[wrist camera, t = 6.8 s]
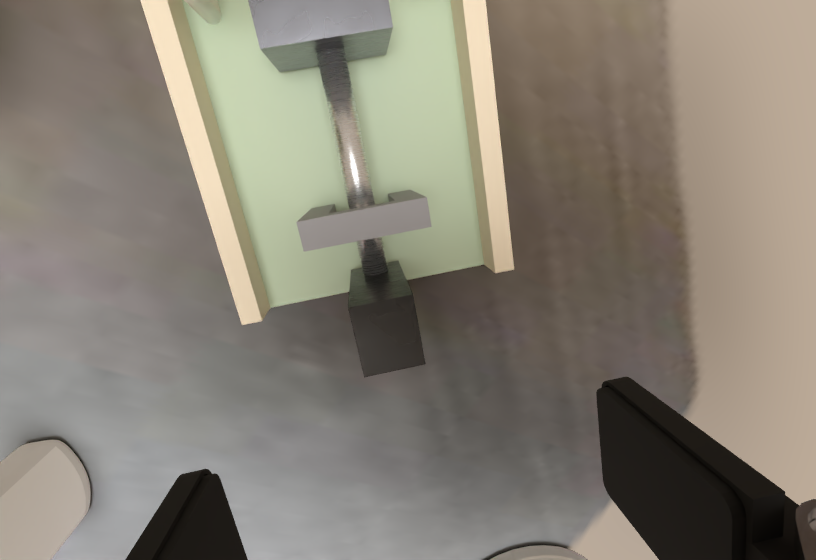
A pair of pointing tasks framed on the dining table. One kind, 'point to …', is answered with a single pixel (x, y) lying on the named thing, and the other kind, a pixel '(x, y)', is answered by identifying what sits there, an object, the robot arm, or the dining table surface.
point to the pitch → (317, 154)
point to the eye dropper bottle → (40, 499)
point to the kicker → (349, 156)
